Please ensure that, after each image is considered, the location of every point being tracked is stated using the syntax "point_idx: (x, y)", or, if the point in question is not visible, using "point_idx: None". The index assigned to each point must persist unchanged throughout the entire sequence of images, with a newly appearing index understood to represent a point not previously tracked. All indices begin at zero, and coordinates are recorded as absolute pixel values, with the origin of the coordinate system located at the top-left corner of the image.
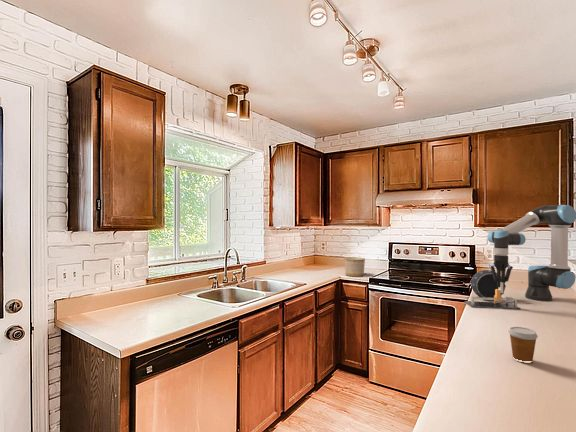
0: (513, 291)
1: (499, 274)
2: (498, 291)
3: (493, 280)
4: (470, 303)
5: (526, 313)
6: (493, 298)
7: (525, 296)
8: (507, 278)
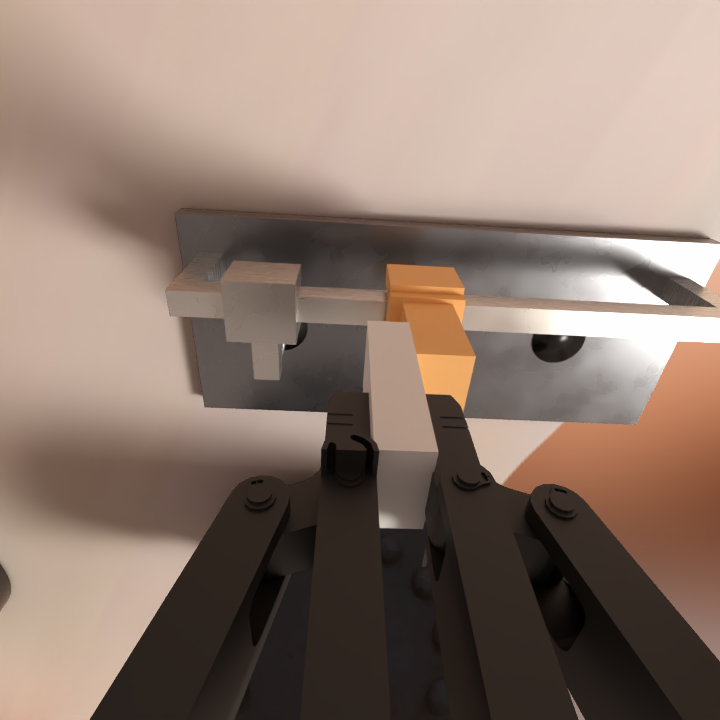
0: (59, 684)
1: (542, 717)
2: (443, 341)
3: (281, 709)
4: (650, 344)
5: (173, 4)
6: (482, 304)
7: (6, 591)
8: (238, 555)
